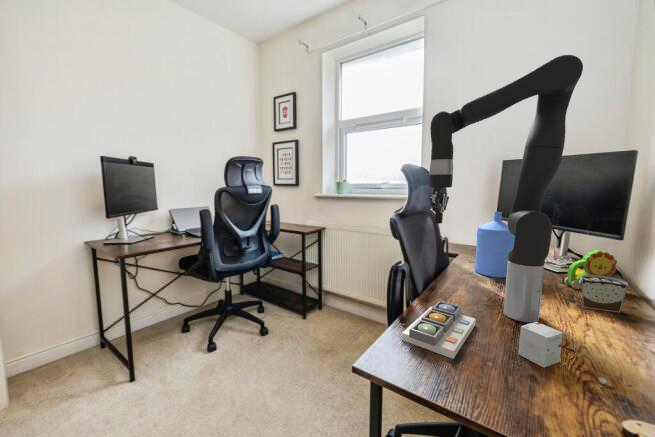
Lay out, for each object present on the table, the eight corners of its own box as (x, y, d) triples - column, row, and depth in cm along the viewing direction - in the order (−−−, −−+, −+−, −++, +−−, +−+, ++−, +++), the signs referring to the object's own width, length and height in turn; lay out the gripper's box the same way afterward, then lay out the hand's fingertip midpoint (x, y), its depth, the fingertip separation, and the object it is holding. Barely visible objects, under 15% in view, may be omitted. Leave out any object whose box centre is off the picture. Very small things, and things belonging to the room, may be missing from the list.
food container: (616, 305, 98) (620, 277, 97) (626, 313, 92) (630, 283, 91) (570, 299, 103) (574, 272, 102) (577, 306, 97) (580, 277, 96)
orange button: (447, 323, 81) (448, 316, 81) (442, 329, 78) (443, 322, 78) (432, 318, 84) (432, 311, 84) (426, 324, 81) (426, 317, 80)
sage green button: (438, 334, 75) (438, 327, 75) (431, 341, 72) (432, 334, 72) (421, 329, 78) (421, 321, 78) (414, 335, 75) (415, 328, 74)
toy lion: (572, 289, 112) (577, 251, 110) (563, 284, 118) (567, 248, 116) (617, 291, 111) (622, 252, 109) (605, 286, 116) (610, 249, 114)
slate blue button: (456, 313, 87) (456, 306, 87) (451, 318, 84) (452, 311, 84) (441, 308, 90) (441, 302, 90) (436, 313, 87) (436, 307, 87)
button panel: (475, 324, 85) (476, 310, 85) (452, 360, 68) (453, 343, 67) (431, 311, 93) (432, 299, 93) (400, 341, 76) (401, 326, 76)
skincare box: (544, 368, 65) (547, 338, 64) (517, 354, 71) (520, 325, 70) (560, 362, 68) (563, 332, 67) (533, 348, 73) (535, 320, 72)
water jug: (521, 278, 125) (527, 214, 121) (485, 278, 125) (489, 214, 122) (500, 267, 140) (505, 210, 137) (468, 267, 141) (471, 210, 137)
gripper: (446, 172, 92) (443, 226, 94) (458, 173, 102) (455, 222, 105) (422, 173, 97) (420, 224, 99) (436, 174, 107) (434, 220, 109)
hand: (438, 223), depth 102 cm, fingers closed
